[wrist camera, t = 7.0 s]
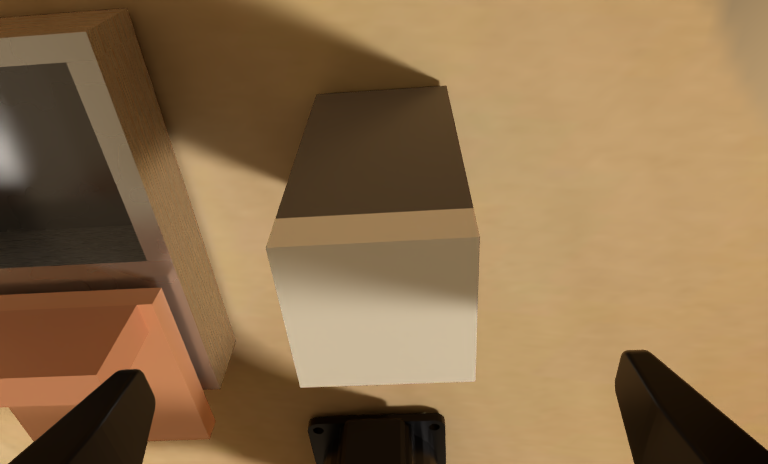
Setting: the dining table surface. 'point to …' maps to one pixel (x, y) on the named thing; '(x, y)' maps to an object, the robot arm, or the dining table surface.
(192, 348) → the grey rectangular box
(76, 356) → the salmon l-shaped block
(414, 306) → the plug
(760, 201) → the dining table surface
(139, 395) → the robot arm
